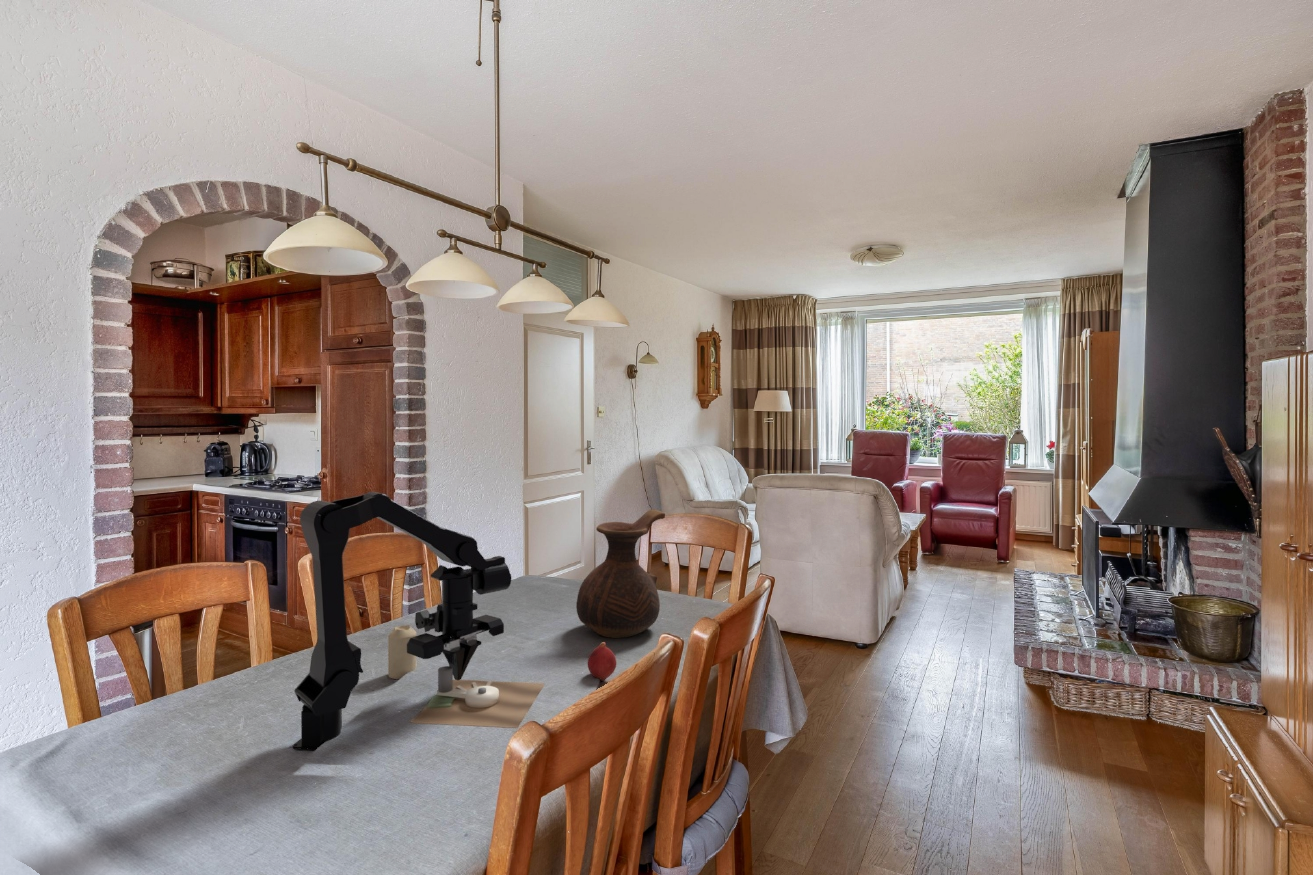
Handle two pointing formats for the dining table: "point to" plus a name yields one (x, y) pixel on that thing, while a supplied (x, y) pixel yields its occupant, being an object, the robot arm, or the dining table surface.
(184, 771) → the dining table surface
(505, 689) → the dial board
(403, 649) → the candle
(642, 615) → the jug
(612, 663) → the onion
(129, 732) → the dining table surface
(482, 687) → the needle
